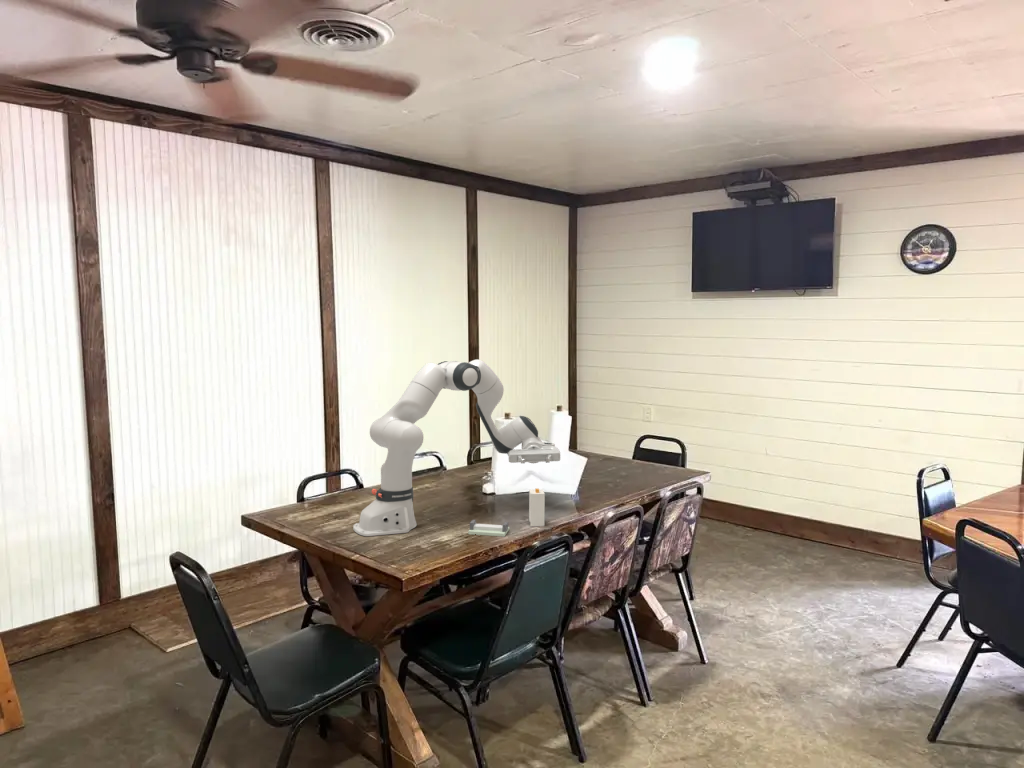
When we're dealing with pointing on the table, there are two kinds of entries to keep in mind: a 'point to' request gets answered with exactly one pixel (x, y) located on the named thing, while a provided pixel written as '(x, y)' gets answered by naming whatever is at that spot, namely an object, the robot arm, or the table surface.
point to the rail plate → (488, 529)
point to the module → (536, 507)
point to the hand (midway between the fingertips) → (535, 461)
